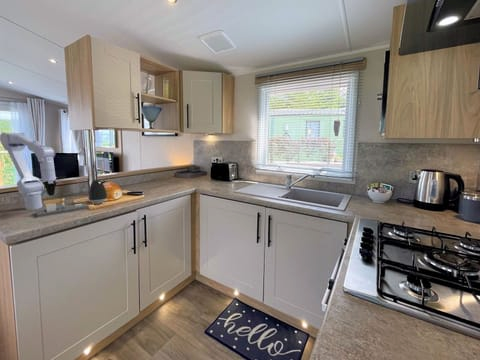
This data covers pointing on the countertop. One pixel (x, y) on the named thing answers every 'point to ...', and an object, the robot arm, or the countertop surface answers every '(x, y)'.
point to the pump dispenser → (97, 192)
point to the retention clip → (54, 201)
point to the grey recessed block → (62, 209)
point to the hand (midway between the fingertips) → (51, 194)
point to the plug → (50, 207)
